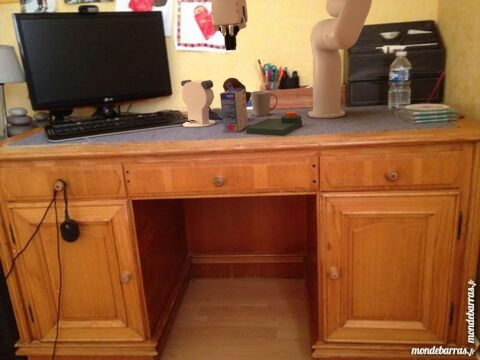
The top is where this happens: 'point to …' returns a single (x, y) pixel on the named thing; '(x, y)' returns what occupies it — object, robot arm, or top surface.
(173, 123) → the top surface
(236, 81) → the ice cream bowl
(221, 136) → the top surface
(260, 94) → the cup
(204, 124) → the beige round-topped stand
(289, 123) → the scale
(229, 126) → the ink cartridge box
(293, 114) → the tare button
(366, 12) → the robot arm
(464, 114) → the top surface
